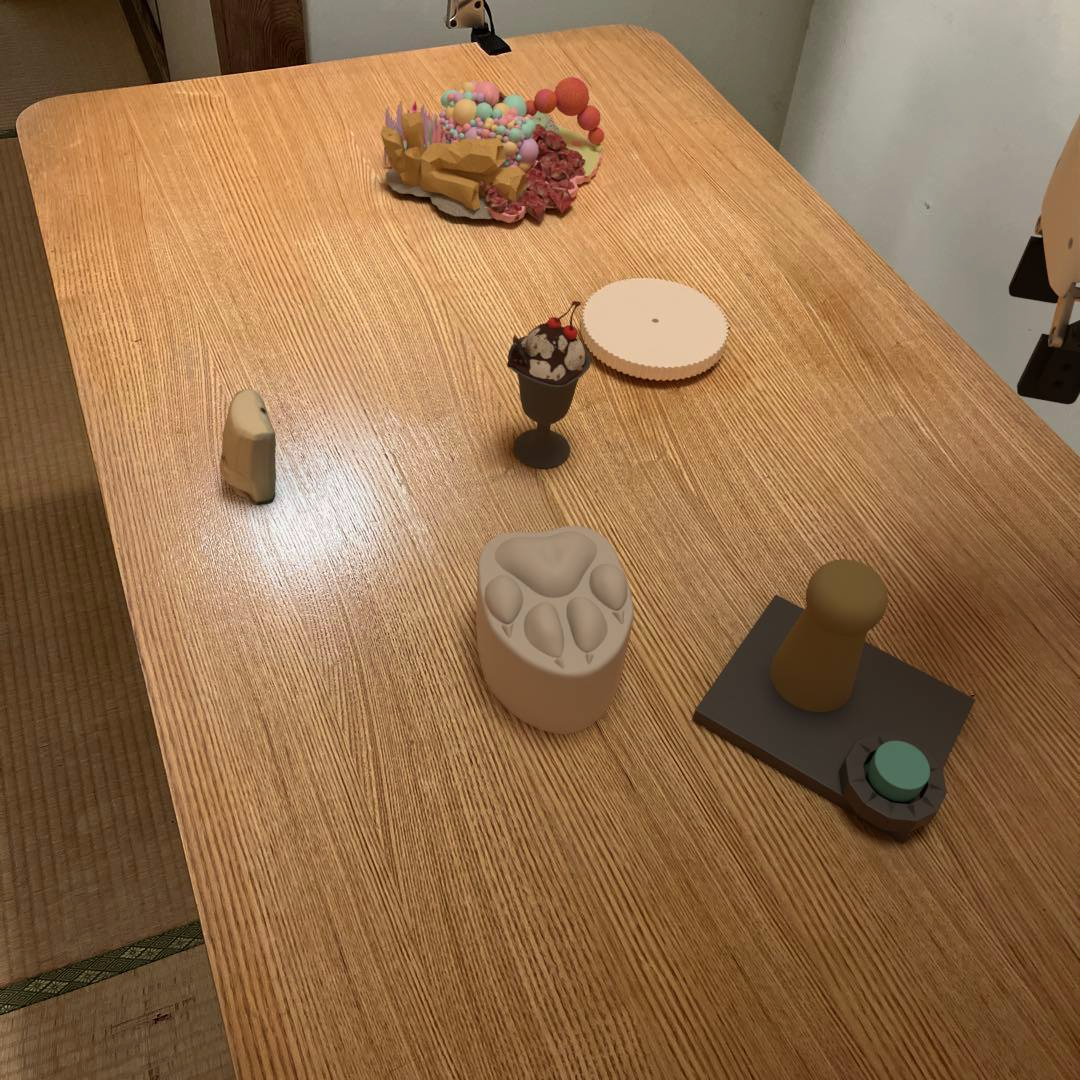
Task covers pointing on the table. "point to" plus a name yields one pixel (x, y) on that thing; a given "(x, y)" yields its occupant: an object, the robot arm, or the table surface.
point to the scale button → (898, 771)
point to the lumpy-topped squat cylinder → (553, 625)
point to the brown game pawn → (829, 636)
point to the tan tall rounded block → (249, 449)
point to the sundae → (547, 387)
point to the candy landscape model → (495, 151)
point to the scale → (837, 724)
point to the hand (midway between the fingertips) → (1038, 345)
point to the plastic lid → (654, 329)
